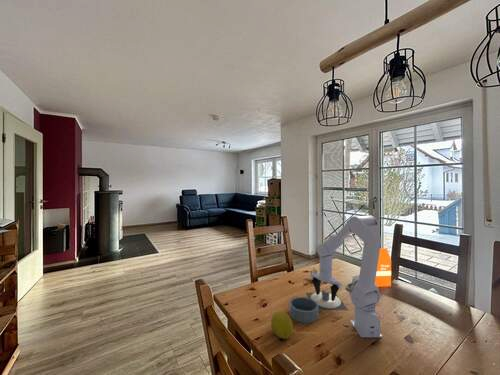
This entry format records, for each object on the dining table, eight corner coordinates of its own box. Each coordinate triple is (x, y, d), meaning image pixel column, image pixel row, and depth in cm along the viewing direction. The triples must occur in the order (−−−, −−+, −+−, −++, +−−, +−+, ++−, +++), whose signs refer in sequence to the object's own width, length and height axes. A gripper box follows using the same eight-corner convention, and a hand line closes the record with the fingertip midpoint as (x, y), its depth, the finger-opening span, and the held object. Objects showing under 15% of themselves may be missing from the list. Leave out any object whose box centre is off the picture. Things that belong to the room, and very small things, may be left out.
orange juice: (367, 280, 129) (367, 246, 129) (381, 280, 130) (382, 246, 130) (376, 287, 121) (376, 250, 121) (391, 286, 122) (391, 250, 122)
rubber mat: (347, 311, 98) (347, 309, 98) (314, 310, 99) (314, 309, 99) (335, 294, 113) (335, 292, 113) (305, 293, 114) (305, 292, 114)
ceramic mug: (366, 288, 120) (366, 274, 120) (369, 295, 112) (369, 280, 112) (345, 286, 123) (345, 272, 123) (347, 293, 115) (347, 278, 115)
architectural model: (311, 283, 126) (311, 270, 126) (307, 278, 133) (308, 266, 133) (317, 283, 126) (317, 270, 126) (313, 278, 133) (313, 266, 133)
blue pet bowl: (321, 324, 89) (321, 312, 89) (292, 324, 89) (292, 311, 89) (313, 307, 101) (313, 297, 101) (287, 307, 101) (287, 296, 101)
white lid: (345, 308, 99) (345, 299, 99) (315, 308, 99) (315, 298, 99) (334, 293, 113) (334, 285, 113) (307, 293, 113) (307, 284, 113)
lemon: (295, 345, 78) (295, 322, 78) (273, 345, 78) (273, 322, 78) (289, 325, 89) (289, 305, 88) (270, 325, 89) (270, 305, 88)
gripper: (344, 270, 103) (344, 299, 104) (316, 262, 114) (315, 288, 114) (337, 275, 98) (337, 305, 99) (308, 266, 109) (308, 293, 109)
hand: (325, 296), depth 106 cm, fingers open, 7 cm apart
